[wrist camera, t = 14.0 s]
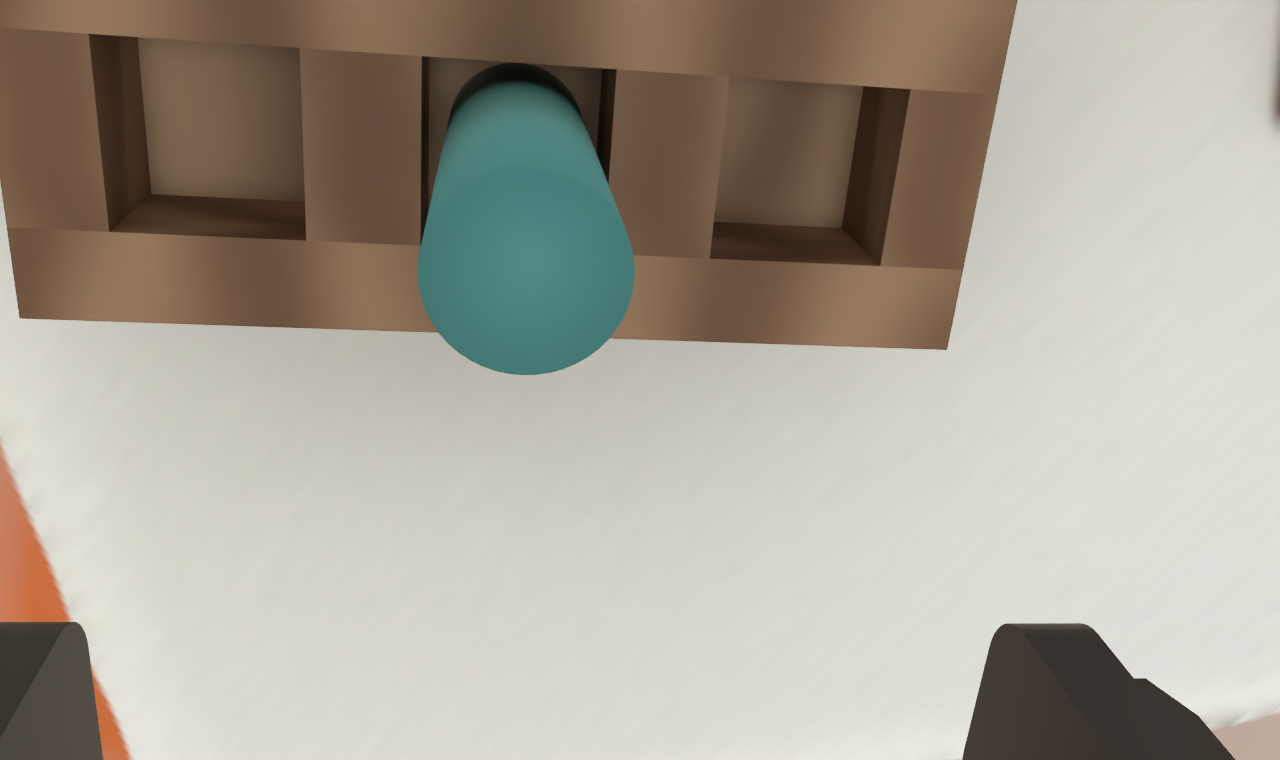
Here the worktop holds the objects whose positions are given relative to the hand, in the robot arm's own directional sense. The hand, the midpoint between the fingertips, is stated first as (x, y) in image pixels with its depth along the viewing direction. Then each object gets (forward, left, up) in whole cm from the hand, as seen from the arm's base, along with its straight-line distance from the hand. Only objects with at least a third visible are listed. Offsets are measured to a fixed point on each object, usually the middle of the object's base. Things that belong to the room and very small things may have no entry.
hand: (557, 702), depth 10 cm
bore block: (0, 0, -27) cm, 27 cm away
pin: (0, 0, -26) cm, 26 cm away
